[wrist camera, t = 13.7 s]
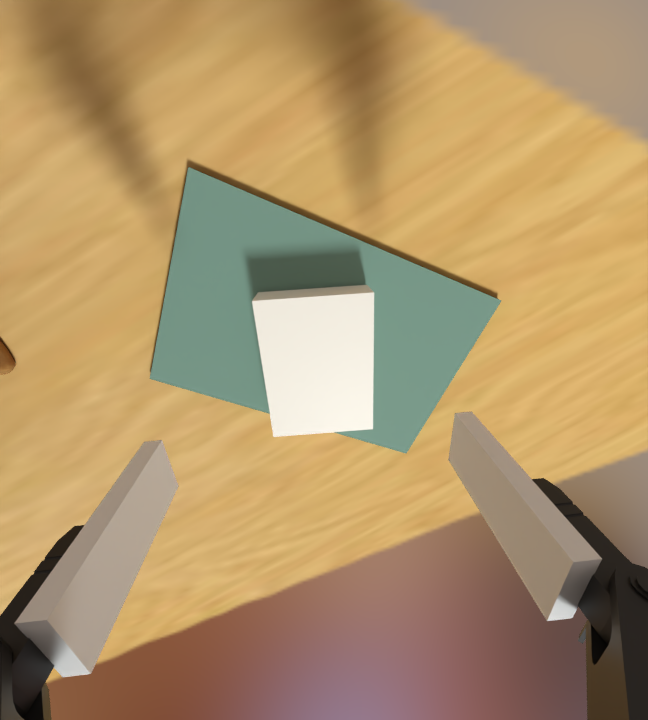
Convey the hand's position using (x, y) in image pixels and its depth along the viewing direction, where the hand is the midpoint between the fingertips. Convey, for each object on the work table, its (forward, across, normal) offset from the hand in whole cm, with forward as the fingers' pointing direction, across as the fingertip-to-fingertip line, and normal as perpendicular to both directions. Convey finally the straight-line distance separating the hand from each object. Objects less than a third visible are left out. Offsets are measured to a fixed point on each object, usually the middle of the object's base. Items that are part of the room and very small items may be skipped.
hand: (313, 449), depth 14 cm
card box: (+10, +1, -6) cm, 12 cm away
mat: (+12, +1, +1) cm, 12 cm away
